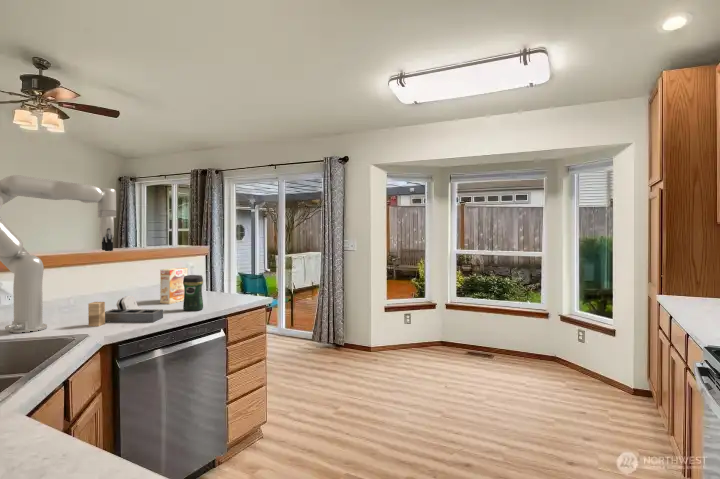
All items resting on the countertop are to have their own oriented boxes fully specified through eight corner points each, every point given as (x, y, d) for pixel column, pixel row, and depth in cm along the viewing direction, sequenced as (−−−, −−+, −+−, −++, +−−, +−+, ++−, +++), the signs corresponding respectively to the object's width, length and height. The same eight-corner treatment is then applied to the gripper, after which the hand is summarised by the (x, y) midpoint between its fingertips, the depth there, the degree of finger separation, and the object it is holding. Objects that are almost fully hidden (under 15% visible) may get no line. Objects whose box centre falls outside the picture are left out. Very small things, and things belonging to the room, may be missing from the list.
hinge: (131, 316, 204) (124, 297, 203) (121, 320, 203) (113, 301, 202) (142, 310, 220) (135, 292, 219) (133, 313, 219) (125, 295, 218)
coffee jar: (205, 308, 226) (205, 274, 226) (199, 311, 218) (199, 275, 218) (187, 308, 227) (187, 274, 226) (180, 311, 219) (180, 275, 218)
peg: (98, 326, 184) (98, 303, 183) (88, 326, 184) (88, 303, 183) (104, 324, 188) (104, 301, 188) (94, 324, 188) (94, 301, 188)
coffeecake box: (169, 304, 238) (169, 270, 237) (159, 303, 240) (159, 269, 240) (188, 300, 252) (188, 267, 252) (178, 299, 254) (178, 267, 254)
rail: (153, 322, 192) (153, 313, 192) (100, 322, 192) (100, 313, 192) (163, 317, 202) (163, 309, 202) (112, 317, 202) (112, 309, 202)
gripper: (95, 214, 203) (95, 249, 203) (100, 213, 189) (100, 251, 190) (113, 214, 207) (113, 249, 208) (119, 214, 194) (119, 251, 194)
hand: (107, 250), depth 199 cm, fingers open, 9 cm apart
